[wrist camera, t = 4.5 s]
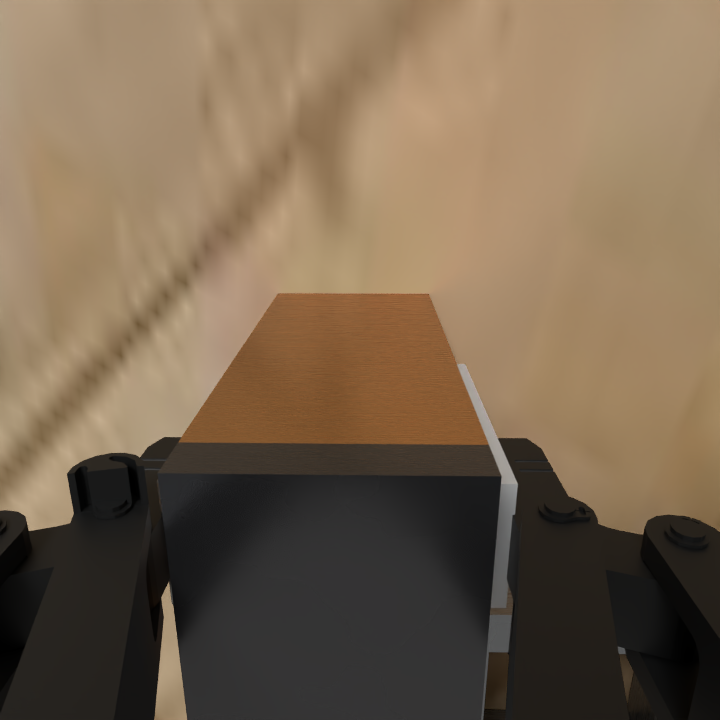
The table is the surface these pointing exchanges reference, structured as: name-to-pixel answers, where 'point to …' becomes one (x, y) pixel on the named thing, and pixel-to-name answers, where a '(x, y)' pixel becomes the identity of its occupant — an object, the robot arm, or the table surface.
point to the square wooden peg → (334, 522)
